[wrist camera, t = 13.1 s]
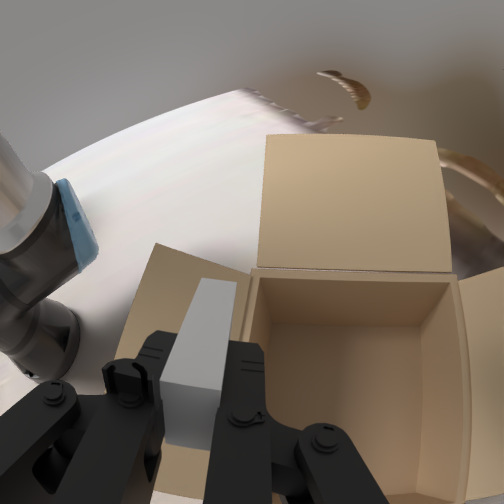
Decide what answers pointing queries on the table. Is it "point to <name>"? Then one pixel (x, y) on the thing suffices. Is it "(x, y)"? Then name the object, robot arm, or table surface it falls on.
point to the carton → (357, 367)
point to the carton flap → (353, 204)
